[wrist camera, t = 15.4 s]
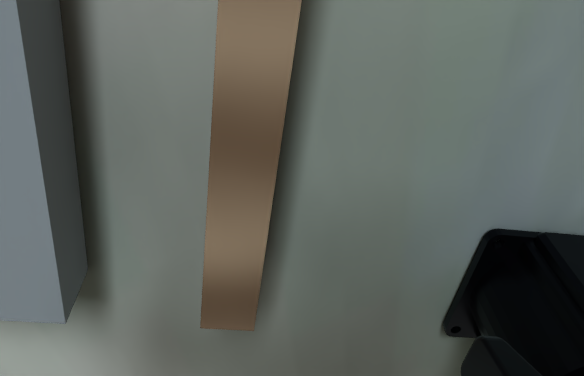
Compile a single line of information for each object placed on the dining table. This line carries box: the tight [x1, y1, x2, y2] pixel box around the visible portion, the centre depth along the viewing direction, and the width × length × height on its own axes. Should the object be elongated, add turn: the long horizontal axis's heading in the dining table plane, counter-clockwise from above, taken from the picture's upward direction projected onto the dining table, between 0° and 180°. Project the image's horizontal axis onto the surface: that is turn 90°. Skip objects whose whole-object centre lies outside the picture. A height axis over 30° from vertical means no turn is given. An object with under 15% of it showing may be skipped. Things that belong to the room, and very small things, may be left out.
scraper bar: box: [200, 0, 302, 331], centre depth 16 cm, size 16×2×4 cm, turn 172°
